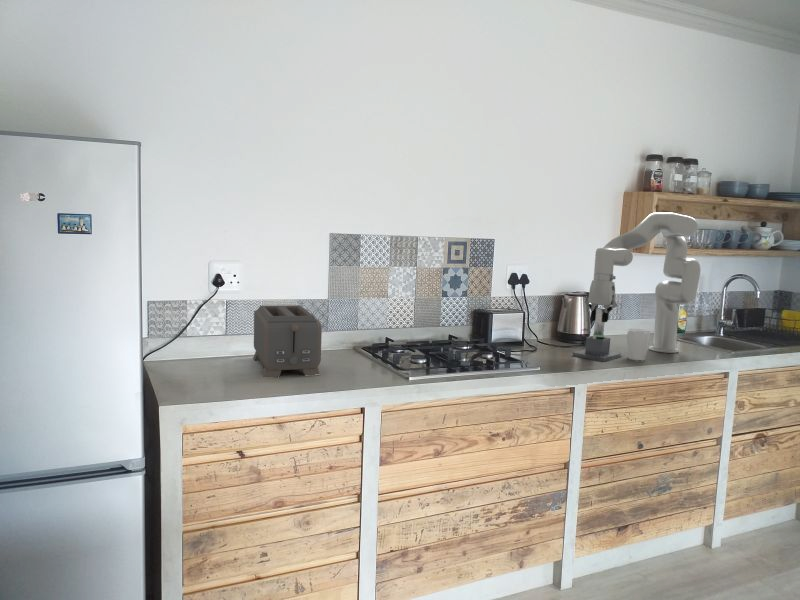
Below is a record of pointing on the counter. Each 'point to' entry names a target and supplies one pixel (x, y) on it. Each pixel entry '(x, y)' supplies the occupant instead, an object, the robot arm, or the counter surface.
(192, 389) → the counter surface
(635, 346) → the cup
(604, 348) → the stand base
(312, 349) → the toaster
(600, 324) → the column
